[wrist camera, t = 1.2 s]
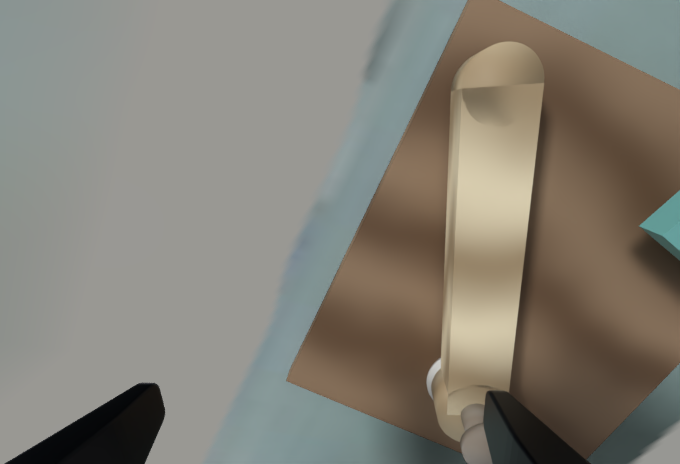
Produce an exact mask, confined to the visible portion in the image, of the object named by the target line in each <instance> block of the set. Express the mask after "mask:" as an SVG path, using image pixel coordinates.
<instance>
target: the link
mask: <svg viewBox="0 0 680 464" xmlns="http://www.w3.org/2000/svg"><path fill="white" fill-rule="evenodd" d="M543 89H544V69H543V65H542V63H541V61H540V59H539V57H538V56H537V54H536V53H535V52H534V51H533V50H532V49H531V48H529V47H528V46H526V45H524V44H521V43H518V42H500V43H497V44H494V45H492V46H490V47H488V48H486V49H484V50H482V51H481V52H479V53H477V54H475V55H474V56H472V57H470V58H469V59H468V60H466V61H465V62H464V63H463V64H462V65H461V67H460V68H459V69H458V71H457V72H456V74H455V76H454V79H453V82H452V86H451V102H450V129H449V156H448V183H447V210H446V237H445V264H444V291H443V318H442V345H441V369H439V370H438V372H437V373H436V374H435V376H434V378H433V380H432V384H431V391H432V396H433V400H434V405H435V410H436V414H437V419H438V423H439V425H440V427H441V429H442V430H443V431H444V433H445V434H446V435H448V436H449V437H450V438H452V439H454V440H456V441H458V442H460V446H461V450H462V454H463V457H464V459H465V461H466V462H467V463H468V464H493V463H492V459H491V455H490V451H489V447H488V443H487V439H486V435H485V431H484V424H483V416H484V406H485V396H486V393H487V391H489V390H504V391H507V392H509V387H510V378H511V370H512V361H513V352H514V343H515V335H516V326H517V317H518V308H519V300H520V291H521V282H522V273H523V264H524V256H525V247H526V238H527V229H528V221H529V212H530V203H531V194H532V186H533V177H534V168H535V159H536V150H537V142H538V133H539V124H540V115H541V107H542V98H543Z"/></svg>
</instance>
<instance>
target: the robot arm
mask: <svg viewBox="0 0 680 464" xmlns="http://www.w3.org/2000/svg"><path fill="white" fill-rule="evenodd" d="M164 416H165V407H164V403H163V400H162V396H161V392H160V388H159V386H158V385H157V384H155V383H139V384H137V385H135V386H133V387H132V388H130V389H129V390H127V391H125V392H124V393H122V394H120V395H118V396H117V397H115V398H113V399H112V400H110V401H109V402H107V403H105V404H103V405H102V406H100V407H98V408H97V409H95V410H94V411H92V412H90V413H88V414H87V415H85V416H83V417H82V418H80V419H78V420H77V421H75V422H73V423H72V424H70V425H68V426H67V427H65V428H63V429H62V430H60V431H59V432H57V433H55V434H53V435H52V436H50V437H48V438H47V439H45V440H43V441H42V442H40V443H38V444H37V445H35V446H33V447H32V448H30V449H28V450H27V451H25V452H23V453H22V454H20V455H18V456H17V457H15V458H13V459H12V460H10V461H8V462H7V463H5V464H145V462H146V459H147V457H148V455H149V452H150V450H151V448H152V446H153V443H154V441H155V439H156V436H157V434H158V432H159V430H160V427H161V425H162V423H163V420H164ZM483 424H484V431H485V435H486V439H487V443H488V447H489V451H490V455H491V459H492V463H493V464H591V463H589V462H588V461H587V460H586V459H585V458H584V457H582V456H581V455H580V454H579V453H578V452H577V451H576V450H574V449H573V448H572V447H571V446H570V445H569V444H567V443H566V442H565V441H564V440H563V439H562V438H561V437H559V436H558V435H557V434H556V433H555V432H554V431H553V430H551V429H550V428H549V427H548V426H547V425H546V424H544V423H543V422H542V421H541V420H540V419H539V418H538V417H536V416H535V415H534V414H533V413H532V412H531V411H530V410H528V409H527V408H526V407H525V406H524V405H523V404H521V403H520V402H519V401H518V400H517V399H516V398H515V397H513V396H512V395H511V394H510V393H509V392H507V391H504V390H489V391H487V393H486V396H485V406H484V416H483Z"/></svg>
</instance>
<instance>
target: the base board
mask: <svg viewBox="0 0 680 464" xmlns="http://www.w3.org/2000/svg"><path fill="white" fill-rule="evenodd" d="M500 42H518V43H521V44H524V45H526V46H528V47H529V48H531V49H532V50H533V51H534V52H535V53H536V54H537V56H538V57H539V59H540V61H541V63H542V65H543V69H544V89H543V98H542V107H541V115H540V124H539V133H538V142H537V150H536V159H535V168H534V177H533V186H532V194H531V203H530V212H529V221H528V229H527V238H526V247H525V256H524V264H523V273H522V282H521V291H520V300H519V308H518V317H517V326H516V335H515V343H514V352H513V361H512V370H511V378H510V387H509V393H510V394H511V395H512V396H513V397H515V398H516V399H517V400H518V401H519V402H520V403H521V404H523V405H524V406H525V407H526V408H527V409H528V410H530V411H531V412H532V413H533V414H534V415H535V416H536V417H538V418H539V419H540V420H541V421H542V422H543V423H544V424H546V425H547V426H548V427H549V428H550V429H551V430H553V431H554V432H555V433H556V434H557V435H558V436H559V437H561V438H562V439H563V440H564V441H565V442H566V443H567V444H569V445H570V446H571V447H572V448H573V449H574V450H576V451H577V452H578V453H579V454H580V455H581V456H582V457H584V458H585V459H587V458H588V457H589V456H590V455H591V454H592V453H593V452H594V451H595V450H596V449H597V448H598V447H599V446H600V445H601V444H602V443H603V442H604V441H605V440H606V439H607V438H608V437H609V436H610V435H611V433H612V432H613V431H614V430H615V429H616V428H617V427H618V426H619V425H620V424H621V423H622V422H623V421H624V420H625V419H626V418H627V417H628V416H629V415H630V414H631V413H632V412H633V411H634V410H635V409H636V408H637V407H638V406H639V405H640V404H641V402H642V401H643V400H644V399H645V398H646V397H647V396H648V395H649V394H650V393H651V392H652V391H653V390H654V389H655V388H656V387H657V386H658V385H659V384H660V383H661V382H662V381H663V380H664V379H665V378H666V377H667V376H668V375H669V374H670V372H671V371H672V370H673V369H674V368H675V367H676V366H677V365H678V364H679V363H680V261H679V260H678V259H677V258H676V257H675V256H674V255H672V254H671V253H670V252H669V251H668V250H667V249H665V248H664V247H663V246H662V245H661V244H659V243H658V242H657V241H656V240H655V239H654V238H652V237H651V236H650V235H649V234H648V233H647V232H645V231H644V230H643V229H642V228H641V227H639V226H640V225H641V224H642V223H643V222H644V221H645V220H646V219H647V218H649V217H650V216H651V215H652V214H653V213H654V212H655V211H657V210H658V209H659V208H660V207H661V206H662V205H663V204H665V203H666V202H667V201H668V200H669V199H670V198H671V197H672V196H674V195H675V194H676V193H677V192H678V191H679V190H680V90H679V89H677V88H675V87H673V86H671V85H669V84H667V83H665V82H663V81H661V80H659V79H657V78H655V77H653V76H651V75H649V74H646V73H644V72H642V71H640V70H638V69H636V68H634V67H632V66H630V65H628V64H626V63H624V62H622V61H620V60H618V59H616V58H614V57H612V56H610V55H608V54H606V53H604V52H602V51H600V50H598V49H596V48H594V47H592V46H590V45H588V44H586V43H584V42H582V41H580V40H578V39H576V38H574V37H572V36H570V35H568V34H566V33H564V32H562V31H560V30H558V29H556V28H554V27H552V26H550V25H548V24H546V23H544V22H541V21H539V20H537V19H535V18H533V17H531V16H529V15H527V14H525V13H523V12H521V11H519V10H517V9H515V8H513V7H511V6H509V5H507V4H505V3H503V2H501V1H499V0H468V1H467V3H466V5H465V7H464V9H463V12H462V14H461V16H460V18H459V20H458V22H457V24H456V26H455V28H454V30H453V32H452V34H451V36H450V38H449V41H448V43H447V45H446V47H445V49H444V51H443V53H442V55H441V57H440V59H439V61H438V63H437V65H436V68H435V70H434V72H433V74H432V76H431V78H430V80H429V82H428V84H427V86H426V88H425V90H424V92H423V94H422V97H421V99H420V101H419V103H418V105H417V107H416V109H415V111H414V113H413V115H412V117H411V119H410V121H409V124H408V126H407V128H406V130H405V132H404V134H403V136H402V138H401V140H400V142H399V144H398V146H397V148H396V150H395V153H394V155H393V157H392V159H391V161H390V163H389V165H388V167H387V169H386V171H385V173H384V175H383V177H382V180H381V182H380V184H379V186H378V188H377V190H376V192H375V194H374V196H373V198H372V200H371V202H370V204H369V206H368V209H367V211H366V213H365V215H364V217H363V219H362V221H361V223H360V225H359V227H358V229H357V231H356V233H355V236H354V238H353V240H352V242H351V244H350V246H349V248H348V250H347V252H346V254H345V256H344V258H343V260H342V262H341V265H340V267H339V269H338V271H337V273H336V275H335V277H334V279H333V281H332V283H331V285H330V287H329V289H328V292H327V294H326V296H325V298H324V300H323V302H322V304H321V306H320V308H319V310H318V312H317V314H316V316H315V318H314V321H313V323H312V325H311V327H310V329H309V331H308V333H307V335H306V337H305V339H304V341H303V343H302V345H301V348H300V350H299V352H298V354H297V356H296V358H295V360H294V362H293V364H292V366H291V368H290V371H289V374H288V377H287V380H286V381H288V382H290V383H292V384H295V385H297V386H300V387H302V388H305V389H307V390H309V391H312V392H314V393H317V394H319V395H322V396H324V397H326V398H329V399H331V400H334V401H336V402H339V403H341V404H343V405H346V406H348V407H351V408H353V409H355V410H358V411H360V412H363V413H365V414H368V415H370V416H372V417H375V418H377V419H380V420H382V421H385V422H387V423H389V424H392V425H394V426H397V427H399V428H402V429H404V430H406V431H409V432H411V433H414V434H416V435H419V436H421V437H423V438H426V439H428V440H431V441H433V442H436V443H438V444H440V445H443V446H445V447H448V448H450V449H453V450H455V451H457V452H460V453H462V450H461V446H460V442H458V441H456V440H454V439H452V438H450V437H449V436H448V435H446V434H445V433H444V431H443V430H442V429H441V427H440V425H439V423H438V419H437V414H436V410H435V405H434V401H433V399H432V398H431V396H430V395H429V392H428V389H427V383H426V379H427V374H428V371H429V369H430V368H431V366H432V365H433V364H434V363H435V361H437V360H438V359H439V358H440V357H441V345H442V318H443V291H444V264H445V237H446V210H447V183H448V156H449V129H450V102H451V86H452V82H453V79H454V76H455V74H456V72H457V71H458V69H459V68H460V67H461V65H462V64H463V63H464V62H465V61H466V60H468V59H469V58H470V57H472V56H474V55H475V54H477V53H479V52H481V51H482V50H484V49H486V48H488V47H490V46H492V45H494V44H497V43H500Z"/></svg>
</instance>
